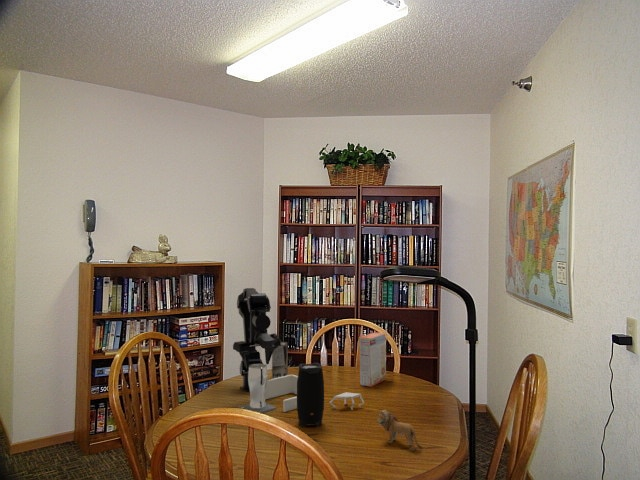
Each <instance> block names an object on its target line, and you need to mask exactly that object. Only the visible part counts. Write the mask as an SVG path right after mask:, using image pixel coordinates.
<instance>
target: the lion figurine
mask: <svg viewBox="0 0 640 480" xmlns="http://www.w3.org/2000/svg"><path fill="white" fill-rule="evenodd" d="M378 416H379V417H378V418H377V422H378V425H380V426H381V427H382V428H384V431H386V432H388V436H389V439H388V440H387V442H388V443H389V444H392V443H393V442H394V441H395V440H396V439H397V438H396V436H397V435H399V436H404V438H405V439H406V441H407V442H408V446H411V447H410V448H409V450H410V451H411V452H414V451H415V449H416V447H415V444H416V446H417V448H419V449H421V450H423V449H424V447H423V446H421V445H419V443H418V440H417V436H416V432H415V430H414V429H415V428H414V427H413V425H412V424H410V423H405V422H401V421H399V420H398V418H397V417H396V416H395V415H394V414H393V413H392V412H390V411H389V410H386V409H383V410H380V411H379V415H378ZM414 443H415V444H414Z"/></svg>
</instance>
